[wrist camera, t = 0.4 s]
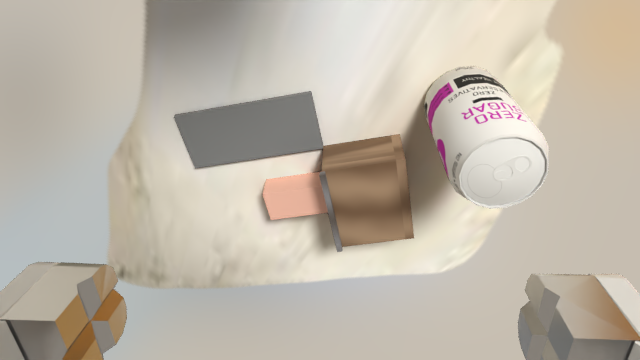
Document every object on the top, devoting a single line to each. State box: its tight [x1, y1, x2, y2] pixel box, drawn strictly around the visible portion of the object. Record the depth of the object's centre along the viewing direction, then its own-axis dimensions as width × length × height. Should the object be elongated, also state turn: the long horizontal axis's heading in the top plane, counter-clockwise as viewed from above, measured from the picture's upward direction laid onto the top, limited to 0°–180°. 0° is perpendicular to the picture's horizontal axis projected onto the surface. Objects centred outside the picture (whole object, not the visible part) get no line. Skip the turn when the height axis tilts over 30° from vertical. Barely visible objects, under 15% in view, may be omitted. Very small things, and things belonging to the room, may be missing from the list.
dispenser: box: [319, 134, 414, 252], centre depth 51 cm, size 11×9×6 cm
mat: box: [174, 91, 323, 168], centre depth 51 cm, size 7×16×1 cm, turn 101°
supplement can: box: [424, 66, 549, 208], centre depth 42 cm, size 8×8×15 cm
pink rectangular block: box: [263, 171, 328, 220], centre depth 54 cm, size 4×14×4 cm, turn 101°
